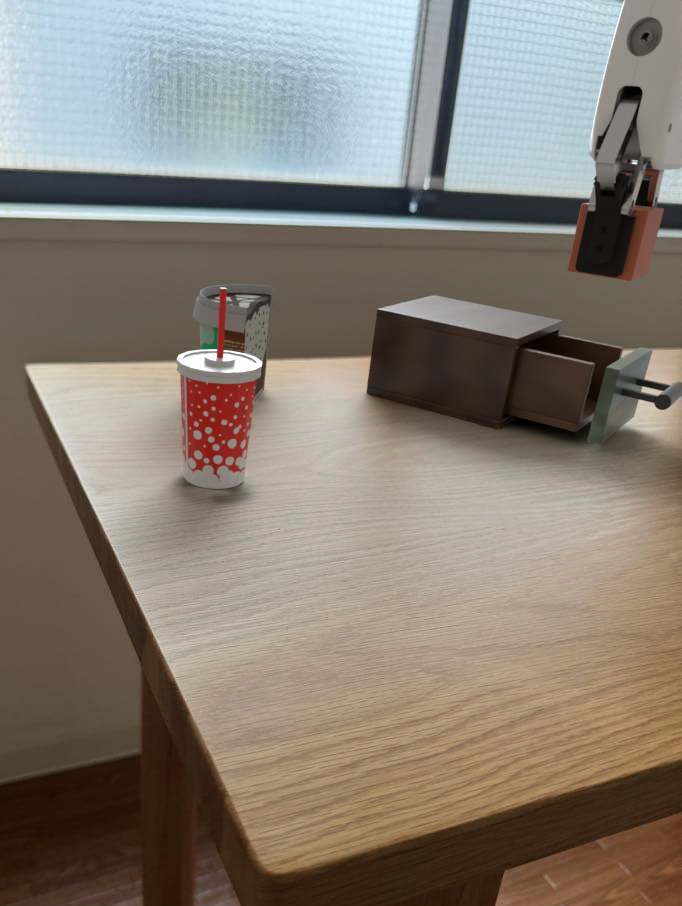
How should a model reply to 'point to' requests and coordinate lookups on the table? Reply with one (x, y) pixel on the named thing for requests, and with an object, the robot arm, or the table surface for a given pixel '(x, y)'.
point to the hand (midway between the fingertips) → (608, 267)
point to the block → (639, 243)
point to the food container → (238, 321)
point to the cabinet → (451, 356)
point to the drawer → (582, 385)
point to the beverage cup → (216, 411)
